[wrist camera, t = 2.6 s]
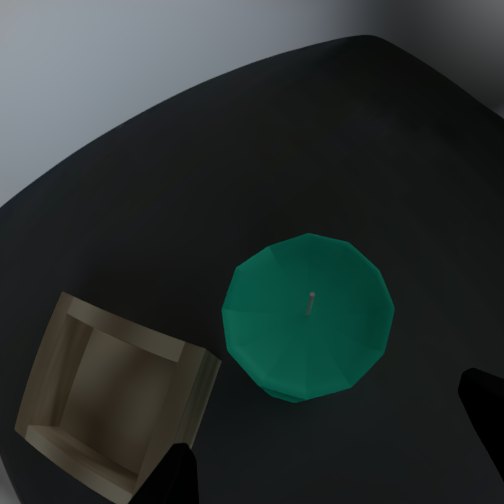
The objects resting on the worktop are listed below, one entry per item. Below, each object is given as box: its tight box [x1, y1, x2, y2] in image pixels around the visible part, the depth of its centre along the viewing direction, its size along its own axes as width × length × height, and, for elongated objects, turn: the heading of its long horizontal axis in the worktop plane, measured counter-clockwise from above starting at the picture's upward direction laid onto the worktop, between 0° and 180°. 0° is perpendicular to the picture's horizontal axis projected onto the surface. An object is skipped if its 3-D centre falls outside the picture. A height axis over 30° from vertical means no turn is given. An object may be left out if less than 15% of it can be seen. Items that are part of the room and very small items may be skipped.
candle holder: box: [14, 291, 222, 504], centre depth 17 cm, size 11×11×4 cm
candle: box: [222, 233, 395, 403], centre depth 14 cm, size 6×6×12 cm
